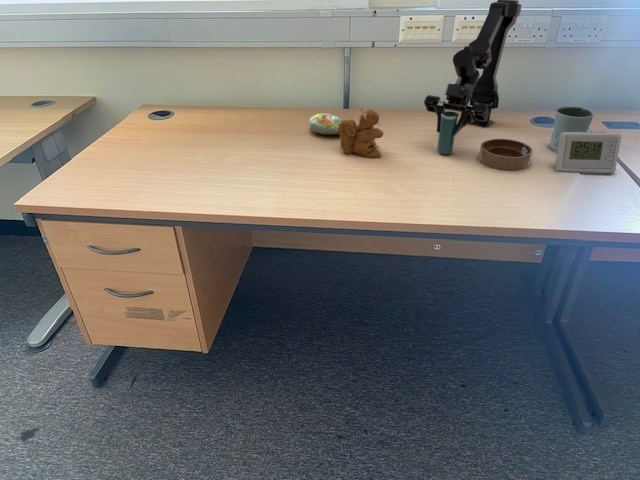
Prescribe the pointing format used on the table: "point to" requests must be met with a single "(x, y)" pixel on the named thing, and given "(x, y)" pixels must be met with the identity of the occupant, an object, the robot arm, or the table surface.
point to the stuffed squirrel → (361, 134)
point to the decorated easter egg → (325, 123)
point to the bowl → (505, 154)
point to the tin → (447, 132)
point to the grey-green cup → (570, 122)
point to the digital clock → (587, 152)
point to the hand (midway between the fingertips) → (445, 133)
